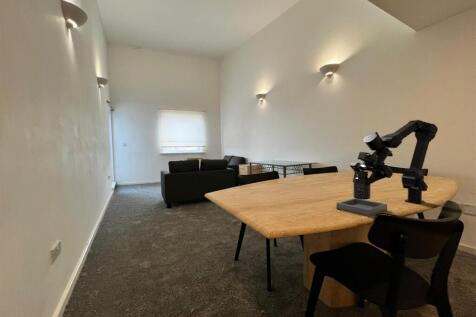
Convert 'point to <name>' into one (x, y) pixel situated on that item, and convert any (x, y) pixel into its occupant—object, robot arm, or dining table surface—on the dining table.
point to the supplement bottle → (361, 186)
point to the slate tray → (361, 207)
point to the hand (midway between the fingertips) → (359, 183)
